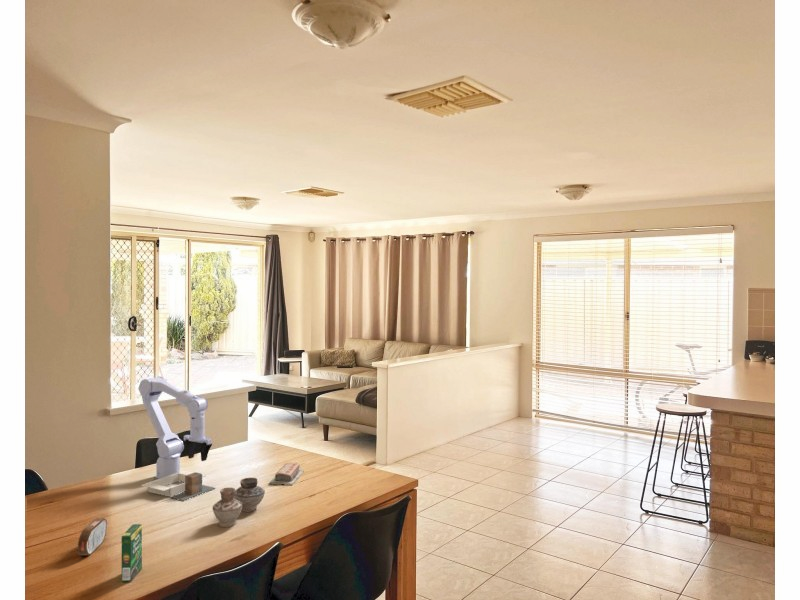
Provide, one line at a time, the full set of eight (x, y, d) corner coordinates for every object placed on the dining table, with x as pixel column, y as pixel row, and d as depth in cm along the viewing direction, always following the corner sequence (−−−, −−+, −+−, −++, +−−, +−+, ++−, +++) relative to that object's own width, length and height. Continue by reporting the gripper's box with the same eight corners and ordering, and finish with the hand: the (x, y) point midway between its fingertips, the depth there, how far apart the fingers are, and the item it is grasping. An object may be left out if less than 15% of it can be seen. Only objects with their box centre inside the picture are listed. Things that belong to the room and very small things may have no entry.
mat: (170, 498, 222) (170, 497, 222) (203, 485, 236) (203, 484, 236) (183, 501, 218) (183, 500, 218) (215, 488, 233) (215, 487, 233)
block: (185, 493, 226) (185, 475, 226) (195, 489, 230) (195, 472, 230) (192, 495, 224) (192, 477, 224) (202, 491, 228) (202, 473, 228)
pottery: (205, 528, 194) (205, 493, 194) (243, 502, 218) (243, 470, 218) (235, 531, 191) (235, 496, 191) (270, 505, 216) (270, 473, 216)
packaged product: (282, 461, 256) (303, 462, 255) (282, 472, 256) (303, 472, 255) (269, 473, 238) (292, 474, 237) (269, 485, 238) (292, 486, 237)
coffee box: (131, 582, 157) (131, 535, 157) (120, 583, 157) (120, 535, 157) (142, 568, 165) (142, 523, 165) (132, 568, 165) (132, 523, 165)
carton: (141, 493, 226) (141, 484, 226) (184, 478, 245) (184, 470, 245) (163, 499, 220) (163, 490, 220) (205, 483, 239) (206, 475, 239)
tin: (98, 539, 185) (98, 513, 185) (108, 538, 185) (108, 513, 185) (76, 560, 170) (76, 532, 170) (87, 560, 170) (87, 532, 170)
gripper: (177, 426, 241) (177, 459, 241) (202, 431, 234) (202, 464, 234) (191, 423, 247) (191, 454, 248) (215, 427, 240) (215, 459, 241)
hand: (197, 459), depth 241 cm, fingers open, 7 cm apart
